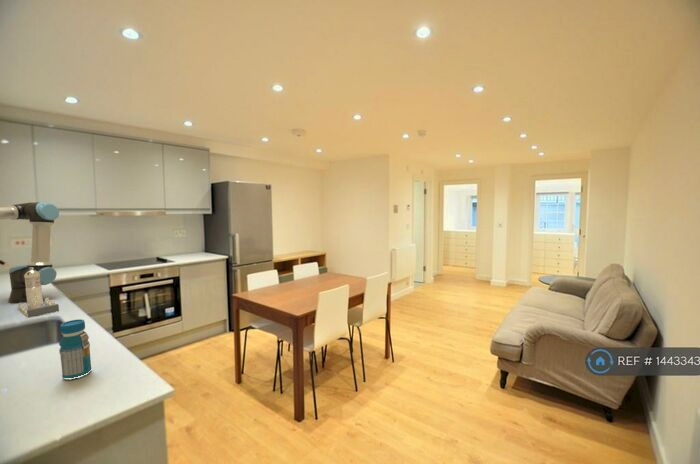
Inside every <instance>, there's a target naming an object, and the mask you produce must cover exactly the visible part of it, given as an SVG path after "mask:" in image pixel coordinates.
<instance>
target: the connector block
mask: <svg viewBox="0 0 700 464" xmlns="http://www.w3.org/2000/svg"><path fill="white" fill-rule="evenodd" d="M59 306H60V305H59V304H58V303H55V304H54V305H49V306H47V305H43V307H39V308H34V309H28V310H27V314H28V317H27V318H33V317H37V316H42V315H48V314H52V313H57V312H59V311H60V307H59ZM56 311H57V312H56ZM51 312H52V313H51ZM47 313H48V314H47Z"/></svg>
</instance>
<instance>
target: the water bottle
mask: <svg viewBox="0 0 700 464" xmlns="http://www.w3.org/2000/svg"><path fill="white" fill-rule="evenodd" d="M29 269H30V270H29V271H28V272H26V273H25V275H24V278H25V286H26V297H27V302H26V305H27V307H28V310H29V309H34V308H39V307H44V300H43V298H44V297H43V290H42V289H43V288H42V285H41V281H40V273H39V272H38V271H36V270H33V269H34V267H30V268H29Z"/></svg>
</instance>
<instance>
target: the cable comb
mask: <svg viewBox="0 0 700 464" xmlns="http://www.w3.org/2000/svg"><path fill="white" fill-rule="evenodd" d="M45 304H46V305H45ZM54 304H56V302H55V301H53V300H52V299H50V298H49V297H46V298H44V300H43V305H45V306H49V305H54ZM17 307H18V308H17V309H18V310H19V311H20V312H21V313H22V314H23V315H25V316H26V317H27V318H28V314H27V310H29V309H28V306H26V304H24V302H21V303H18V306H17Z"/></svg>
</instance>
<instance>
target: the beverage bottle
mask: <svg viewBox="0 0 700 464" xmlns="http://www.w3.org/2000/svg"><path fill="white" fill-rule="evenodd" d="M59 328H60V334H61V335H62V336H61V337H60V340H59V342H58V345H59V346H60V347H59V349H58V351H59V352H58V353H59V355H60V357H59V358H60V364H61V373H62V374H61V377H62V379H63V378H74V377H78V376H81V375H84V374H86V373H88V372H89V371H90V370H91V369H92V364H91V363H92V362H91V359H92V358H91V349H90V346H91V344H90V341H89V339H90V336H89V335H88V333H87V332H86V331H85V329H86V321H85V320H84V319H80V318H79V319H73V320H68V321H65V322H63V323H61V324H60V326H59ZM91 371H92V370H91Z"/></svg>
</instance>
